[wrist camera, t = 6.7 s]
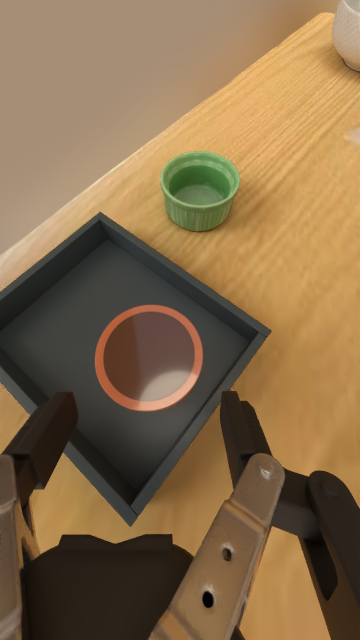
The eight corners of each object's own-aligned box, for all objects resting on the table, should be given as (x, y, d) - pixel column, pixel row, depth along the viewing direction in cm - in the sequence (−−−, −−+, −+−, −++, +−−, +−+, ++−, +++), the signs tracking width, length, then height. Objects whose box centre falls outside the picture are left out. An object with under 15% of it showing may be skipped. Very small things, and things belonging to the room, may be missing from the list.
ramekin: (148, 214, 30) (143, 183, 26) (189, 174, 32) (190, 140, 28) (207, 248, 28) (211, 219, 24) (245, 202, 30) (255, 170, 26)
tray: (139, 506, 18) (130, 527, 15) (-15, 341, 24) (-48, 329, 20) (259, 342, 23) (272, 330, 20) (109, 234, 28) (100, 211, 25)
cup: (165, 427, 20) (153, 438, 12) (114, 380, 21) (71, 360, 13) (208, 371, 22) (225, 345, 13) (158, 331, 23) (145, 286, 15)
